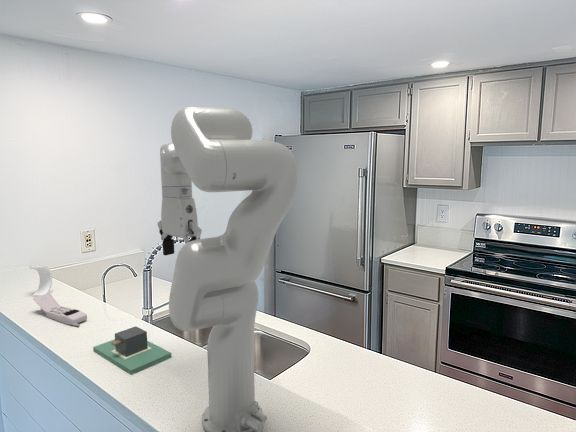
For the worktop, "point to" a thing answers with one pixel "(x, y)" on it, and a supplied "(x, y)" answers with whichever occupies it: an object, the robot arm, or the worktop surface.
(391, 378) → the worktop surface
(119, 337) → the block
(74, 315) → the mobile phone
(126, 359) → the header board
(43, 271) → the headphone stand
